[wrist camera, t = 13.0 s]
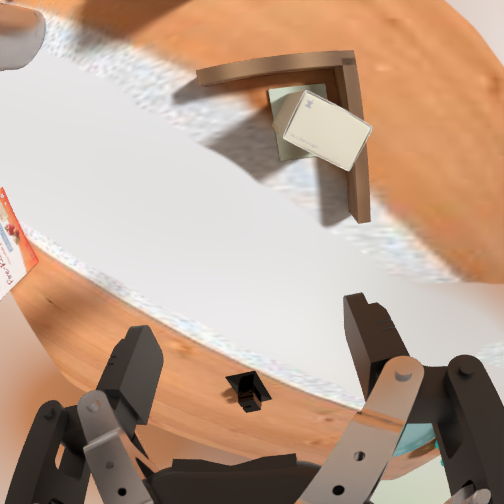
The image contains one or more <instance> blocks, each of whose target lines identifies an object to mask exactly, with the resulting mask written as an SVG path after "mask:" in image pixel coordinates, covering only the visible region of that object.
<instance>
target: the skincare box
mask: <svg viewBox="0 0 504 504" xmlns="http://www.w3.org/2000/svg"><path fill="white" fill-rule="evenodd" d="M271 126H272V127H273V128H274V129H275V130H276V131H277V132H278V133H279V134H280V135H281V136H282V138H283V139H285V140H287V141H289V142H290V143H292V144H294V145H296V146H298V147H300V148H302V149H304V150H306V151H308V152H310V153H312V154H314V155H316V156H318V157H320V158H322V159H324V160H326V161H328V162H330V163H332V164H334V165H336V166H338V167H340V168H342V169H344V170H346V171H350V169H351V168H352V166H353V164H354V162H355V161H356V159H357V157H358V155H359V154H360V152H361V150H362V148H363V146H364V145H365V143H366V141H367V139H368V137H369V135H370V133H371V131H372V126H371V125H369V124H368V123H366V122H365V121H363V120H361V119H360V118H358V117H357V116H355V115H353V114H352V113H350V112H348V111H347V110H345V109H343V108H341V107H339V106H337V105H336V104H334V103H332V102H330V101H328V100H326V99H324V98H322V97H320V96H318V95H316V94H314V93H312V92H309V91H308V90H303V91H298V92H294V93H289V94H287V95H286V96H285V98H284V100H283V102H282V104H281V106H280V108H279V110H278V112H277V114H276V116H275V118H274V120H273V122H272V125H271Z"/></svg>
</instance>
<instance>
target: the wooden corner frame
mask: <svg viewBox="0 0 504 504" xmlns="http://www.w3.org/2000/svg"><path fill="white" fill-rule="evenodd" d="M321 69H333V70H334V76H335V82H336V88H337V95H338V102H339V107H341V108H343V109H345V110H347V111H348V112H350V113H352V114H353V115H355V116H357V117H358V118H360V119H361V120H363V121H364V116H363V107H362V99H361V92H360V85H359V78H358V72H357V66H356V60H355V54H354V50H351V51H325V52H310V53H299V54H289V55H280V56H272V57H264V58H258V59H251V60H245V61H239V62H234V63H228V64H223V65H218V66H214V67H209V68H204V69H200V70H196V74H197V79H198V84H199V85H201V86H205V87H206V86H210V85H215V84H220V83H225V82H230V81H235V80H241V79H247V78H253V77H259V76H266V75H273V74H281V73H289V72H298V71H309V70H321ZM303 90H308V91H309V92H312V93H314V94H316V95H318V96H320V97H322V98H324V99H326V100H328V99H327V92H326V86H325V83H323V84H311V85H301V86H292V87H284V88H276V89H269V90H268V91H269V97H270V103H271V108H272V114H273V120H274V118H275V116H276V114H277V112H278V110H279V108H280V106H281V104H282V102H283V100H284V98H285V96H286V95H287V94H289V93H294V92H298V91H303ZM275 132H276V138H277V144H278V150H279V157H280V161H284V160H291V159H298V158H306V157H314V156H316V155H314V154H312V153H310V152H308V151H306V150H304V149H302V148H300V147H298V146H296V145H294V144H292V143H290V142H289V141H287V140H285V139H283V138H282V136H281V135H280V134H279V133H278V132H277V131H276V130H275ZM346 173H347V185H348V199H349V212H350V213H351V214H352V216H353V217H354V218H355V220H356V221H357V222H358V224H360V223H367V222H371V219H370V190H369V172H368V157H367V145H366V143H365V145H364V146H363V148H362V150H361V152H360V154H359V155H358V157H357V159H356V161H355V162H354V164H353V166H352V168H351V169H350V171H346Z"/></svg>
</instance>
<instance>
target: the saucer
mask: <svg viewBox="0 0 504 504" xmlns="http://www.w3.org/2000/svg"><path fill="white" fill-rule="evenodd" d="M434 437H436V436H435V433H434V430H433V427H432V423H429V424H407V426H406V429H405V431H404V433H403V435H402V438H401V440H400V442H399V444H398V446H397V448H396V450H395V452H394V455H393V457H396V456H399V455H402V454H405V453H408V452H410V451H413V450H415V449H417V448H419V447H421V446H422V445H424V444H426V443H427V442H429V441H430V440H432V439H433V438H434Z"/></svg>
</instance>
